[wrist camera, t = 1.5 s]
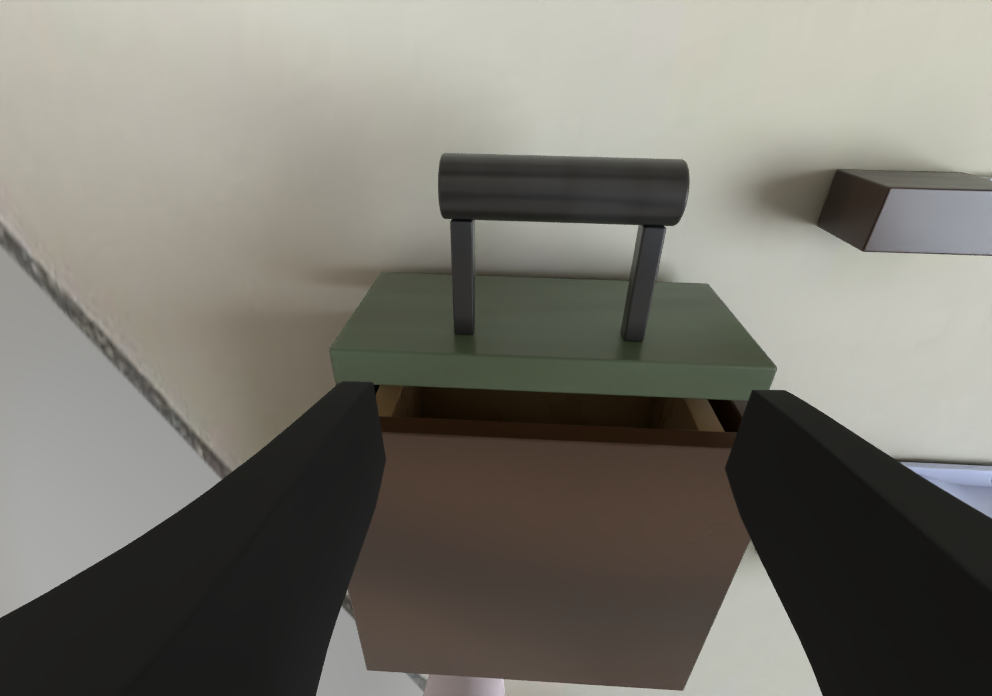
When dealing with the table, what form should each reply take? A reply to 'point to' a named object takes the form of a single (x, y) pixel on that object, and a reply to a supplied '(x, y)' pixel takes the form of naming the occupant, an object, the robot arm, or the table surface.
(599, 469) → the cabinet
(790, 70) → the table surface
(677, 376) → the drawer
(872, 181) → the knife
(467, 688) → the smoothie
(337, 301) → the table surface
